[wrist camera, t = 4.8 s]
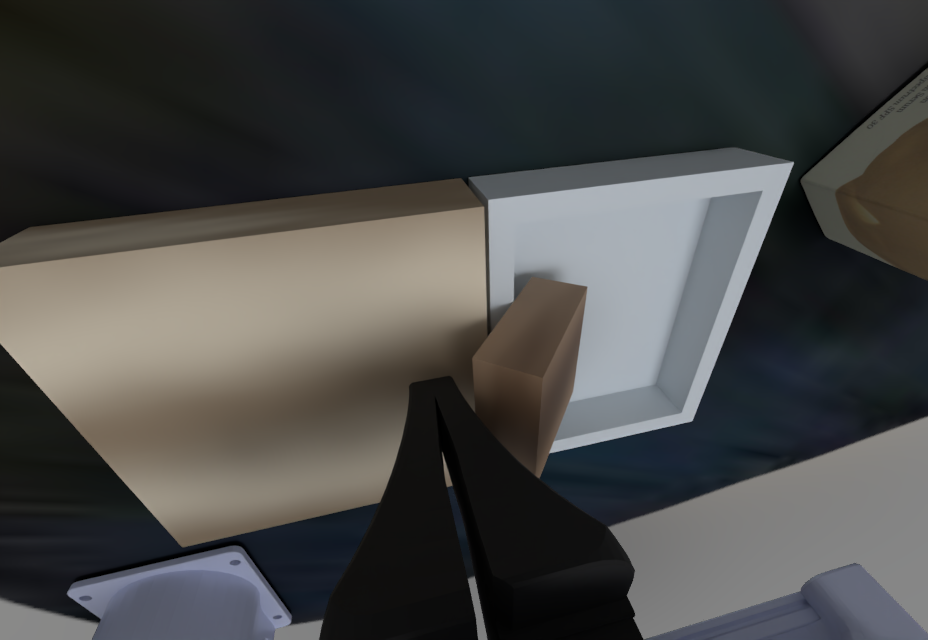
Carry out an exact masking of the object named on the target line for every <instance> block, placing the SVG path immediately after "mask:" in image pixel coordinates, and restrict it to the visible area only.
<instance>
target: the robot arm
mask: <svg viewBox="0 0 928 640" xmlns="http://www.w3.org/2000/svg"><path fill="white" fill-rule="evenodd" d="M442 452H443V454H442ZM443 456H444V459H445V462H446V466H447V469H448V472H449V476H450V479H451V482H452V485H453V489H454V492H455V495H456V499H457V502H458V505H459V508H460V512H461V515H462V519H463V523H464V527H465V531H466V536H467V541H468V545H469V550H470V555H471V560H472V565H473V570H474V574H475V579H476V584H477V589H478V594H479V599H480V604H481V609H482V613H483V618H484V623H485V628H486V633H487V639H488V640H643V638H642V636H641V633H640V632H639V629H638V627H637V625H636V623H635V621H634V619H633V617H634V616H635V613H634V610H633V608H632V606H631V604H630V601H629V600H628V597H627V594H628V591H629V589H630V586H631V584H632V581H633V578H634V572H635V570H634V568H633V566H632V564H631V561H630V559H629V558H628V556H627V554H626V552H625V551H624V549H623V548H622V547H621V545H620V544H619V542H618V541H617V539H616V538H615V536H614V535H613V534H612V532H611V531H610V530H609V529H608V527H607V526H606V525H604V524H603V523H601V522H600V521H598V520H596V519H595V518H593V517H592V516H590V515H588V514H587V513H585V512H584V511H582V510H581V509H579V508H578V507H576V506H575V505H573V504H572V503H571V502H569V501H568V500H566V499H565V498H564V497H562V496H561V495H559V494H558V493H557V492H556V491H554V490H553V489H552V488H550V487H549V486H548V485H547V484H545V483H544V482H543V481H542V480H540V479H539V478H538V477H537V476H535V475H534V474H533V473H532V472H531V471H529V470H528V469H527V468H526V467H525V466H524V465H523V464H522V463H521V462H519V461H518V460H517V459H516V458H515V457H514V456H513V455H512V454H511V453H510V452H509V451H508V450H507V449H506V448H505V447H504V446H503V445H502V444H501V443H500V442H499V441H498V439H497V438H496V437H495V436H494V435H493V434H492V433H491V432H490V431H489V429H488V428H487V427H486V426H485V425H484V423H483V422H482V421H481V420H480V418H479V417H478V416H477V415H476V413H475V412H474V411H473V409H472V408H471V407H470V405H469V404H468V402H467V401H466V400H465V398H464V397H463V395H462V394H461V392H460V390H459V389H458V387H457V385H456V383H455V381H454V379H453V378H452V377H451V376H445V377H440V378H434V379H429V380H424V381H418V382H413V383H411V384H410V385H409V403H408V410H407V417H406V422H405V426H404V431H403V436H402V440H401V443H400V447H399V450H398V454H397V457H396V461H395V464H394V467H393V470H392V473H391V475H390V478H389V481H388V484H387V486H386V489H385V491H384V494H383V496H382V499H381V501H380V503H379V506H378V508H377V510H376V513H375V515H374V517H373V519H372V521H371V523H370V525H369V527H368V529H367V531H366V533H365V535H364V537H363V539H362V541H361V543H360V545H359V547H358V549H357V551H356V553H355V554H354V556H353V558H352V560H351V562H350V563H349V565H348V567H347V568H346V570H345V572H344V573H343V575H342V577H341V578H340V580H339V582H338V584H337V585H336V587H335V589H334V590H333V592H332V594H331V596H330V598H329V602H328V605H327V609H326V612H325V616H324V620H323V624H322V628H321V633H320V638H319V640H478V636H477V625H476V617H475V612H474V607H473V602H472V597H471V593H470V588H469V583H468V579H467V575H466V570H465V566H464V562H463V557H462V553H461V549H460V544H459V540H458V536H457V531H456V527H455V522H454V518H453V513H452V509H451V504H450V499H449V495H448V490H447V485H446V481H445V473H444V464H443ZM67 594H68V595H69V597H71V598H72V599H74V600H75V601H76V602H78V603H79V604H81V605H82V606H83V607H85V608H86V609H88V610H89V611H90V612H92V613H93V614H95V615H96V616H97V617H99V618H100V619H101V621H100V623H99V625H98V627H97V629H96V632H95V634H94V636H93V638H92V640H274V633H275V629H277V628H281V627H284V626H287V625H289V624H290V623H291V618H292V615H291V614H290V612H289V611H288V610H287V608H286V607H285V606H284V604H283V603H282V601H281V600H280V599H279V597H278V596H277V595H276V593H275V592H274V590H273V589H272V588H271V586H270V585H269V584H268V582H267V581H266V579H265V578H264V577H263V575H262V574H261V572H260V571H259V570H258V568H257V567H256V566H255V564H254V563H253V561H252V560H251V559H250V557H249V556H248V555H247V553H246V552H245V550H244V549H243V548H242V547H240V546H236V545H233V546H227V547H223V548H219V549H215V550H210V551H206V552H202V553H197V554H193V555H189V556H184V557H180V558H176V559H171V560H167V561H163V562H159V563H154V564H150V565H146V566H141V567H137V568H133V569H128V570H124V571H120V572H116V573H111V574H107V575H103V576H98V577H94V578H90V579H85V580H81V581H77V582H75V583H73V584H72V585H71V586H70V588H69V590H68V592H67ZM644 640H928V633H927V632H926V631H925V630H924V629H923V628H922V627H921V626H920V625H919V624H918V623H917V622H916V621H915V620H914V619H913V618H912V617H911V616H910V615H909V614H908V613H907V612H906V611H905V610H904V609H903V608H902V607H901V606H900V605H899V604H898V603H897V602H896V601H895V600H894V599H893V598H892V597H891V596H890V595H889V594H888V593H887V591H886V590H885V589H884V588H883V587H882V586H881V585H880V584H879V583H878V582H877V581H876V580H875V579H874V578H873V577H872V576H871V575H870V574H869V573H868V572H867V571H866V570H865V569H864V568H863V567H862V566H861V565H860V564H856V563H853V564H850V565H847V566H843V567H840V568H837V569H834V570H830V571H827V572H824V573H821V574H818V575H816V576H815V577H813V578H811V579H810V580H808V581H807V582H806V583H805V584H804V585H803V586H802V588H801V591H800V592H797V593H793V594H790V595H787V596H784V597H780V598H777V599H774V600H771V601H768V602H764V603H761V604H758V605H754V606H751V607H748V608H745V609H741V610H738V611H735V612H732V613H728V614H725V615H722V616H719V617H716V618H713V619H709V620H706V621H703V622H699V623H696V624H693V625H690V626H686V627H683V628H680V629H677V630H673V631H670V632H667V633H664V634H660V635H657V636H654V637H651V638H647V639H644Z"/></svg>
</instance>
